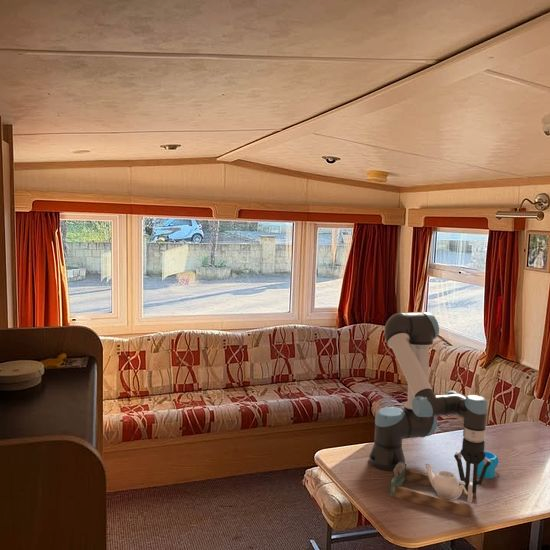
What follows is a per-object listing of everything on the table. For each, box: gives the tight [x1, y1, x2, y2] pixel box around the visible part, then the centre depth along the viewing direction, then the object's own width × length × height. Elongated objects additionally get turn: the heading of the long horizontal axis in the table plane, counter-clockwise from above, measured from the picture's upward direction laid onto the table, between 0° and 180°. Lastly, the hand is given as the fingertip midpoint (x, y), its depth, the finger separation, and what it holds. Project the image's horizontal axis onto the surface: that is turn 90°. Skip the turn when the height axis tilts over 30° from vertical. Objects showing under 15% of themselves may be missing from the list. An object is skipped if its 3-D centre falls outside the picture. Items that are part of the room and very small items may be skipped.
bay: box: [390, 462, 478, 518], centre depth 203 cm, size 29×17×9 cm, turn 62°
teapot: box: [425, 463, 468, 500], centre depth 202 cm, size 10×20×9 cm, turn 31°
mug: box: [477, 450, 499, 479], centre depth 223 cm, size 12×8×8 cm
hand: (469, 500), depth 197 cm, fingers closed
